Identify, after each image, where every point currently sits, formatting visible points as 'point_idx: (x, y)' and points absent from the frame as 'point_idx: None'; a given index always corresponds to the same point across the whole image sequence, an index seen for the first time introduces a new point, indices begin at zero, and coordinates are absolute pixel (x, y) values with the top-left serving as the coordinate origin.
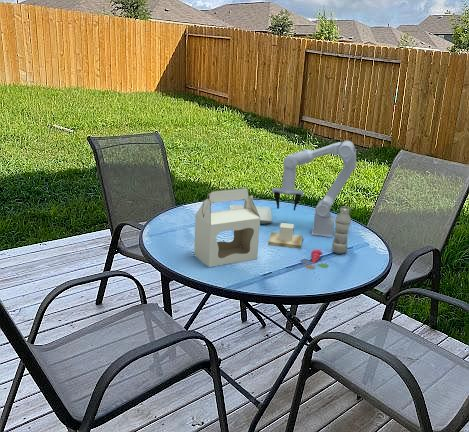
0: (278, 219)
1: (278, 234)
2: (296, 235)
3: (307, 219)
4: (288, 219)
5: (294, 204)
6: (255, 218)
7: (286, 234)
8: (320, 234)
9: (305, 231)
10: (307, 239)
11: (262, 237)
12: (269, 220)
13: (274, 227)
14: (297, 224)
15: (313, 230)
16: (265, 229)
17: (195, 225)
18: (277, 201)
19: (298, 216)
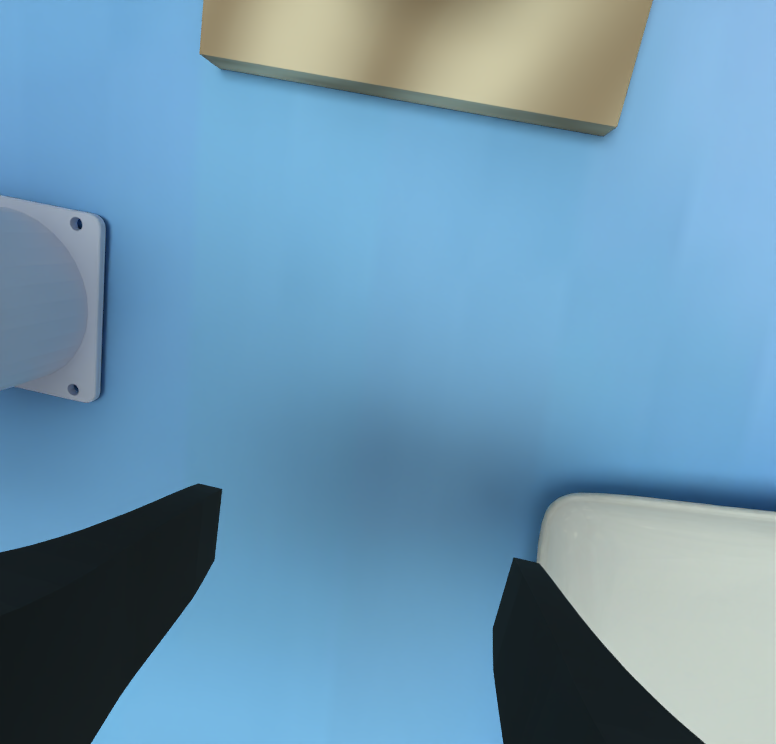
0: (433, 658)
1: (527, 40)
2: (277, 49)
3: (144, 667)
4: (328, 661)
5: (140, 539)
6: None
7: None
8: (4, 207)
9: (173, 333)
10: (158, 61)
11: (746, 26)
12: (563, 565)
13: (514, 422)
14: (247, 532)
15: (68, 284)
16: (640, 344)
17: None
18: (600, 672)
19: (225, 737)
